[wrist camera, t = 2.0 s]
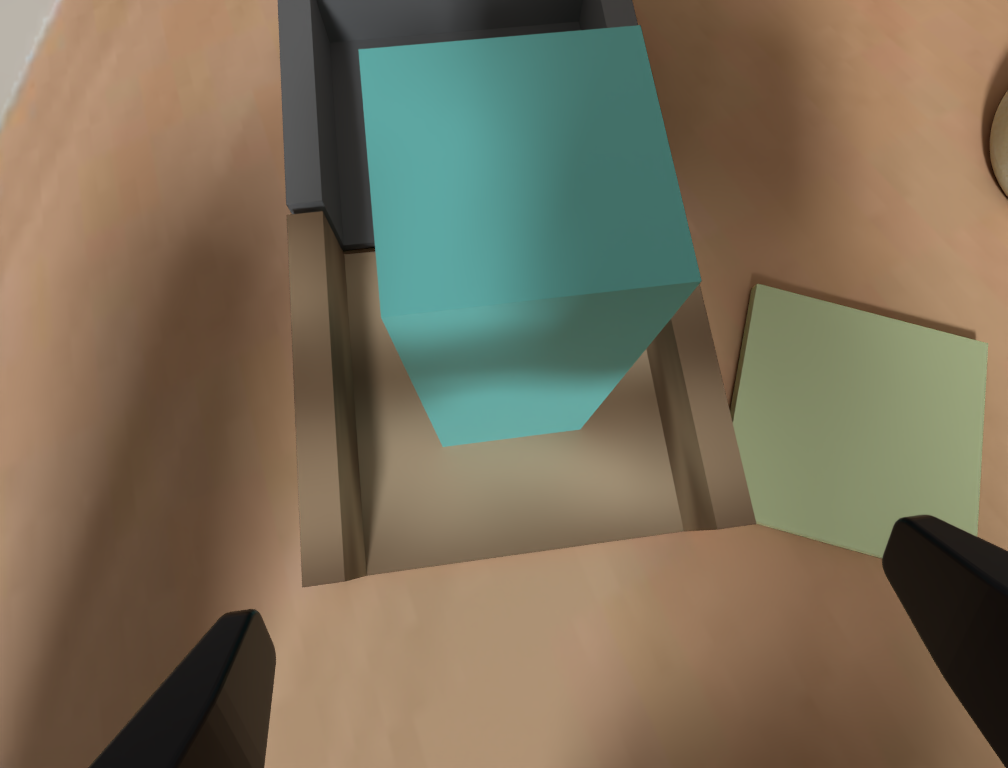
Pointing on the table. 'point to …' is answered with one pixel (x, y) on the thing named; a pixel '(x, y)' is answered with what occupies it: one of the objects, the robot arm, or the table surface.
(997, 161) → the ladybug figurine
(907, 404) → the pad
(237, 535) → the table surface
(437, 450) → the open channel
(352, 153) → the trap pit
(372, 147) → the teal block
